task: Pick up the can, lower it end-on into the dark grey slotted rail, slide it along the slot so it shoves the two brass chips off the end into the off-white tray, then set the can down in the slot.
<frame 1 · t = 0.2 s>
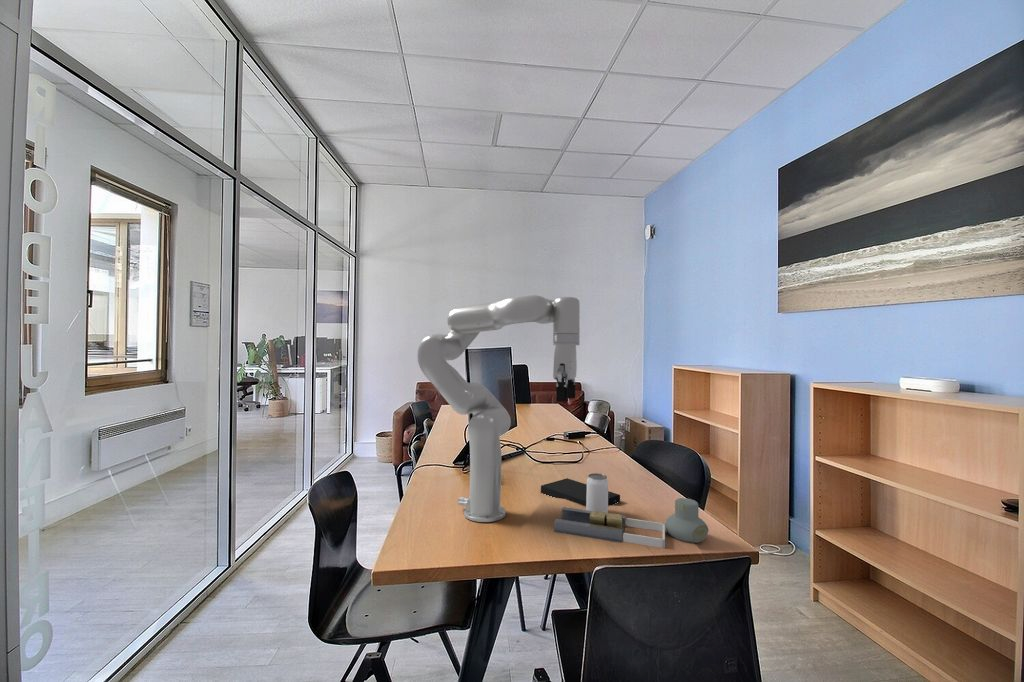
hand: (566, 399, 123), 36 cm above the table, tool pointing down, fingers open, 9 cm apart
can: (596, 516, 131), on the table
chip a: (597, 528, 119), point 1 cm above the table, touching chip b, slot rail
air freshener: (686, 539, 116), on the table
tray: (644, 539, 115), on the table
chip b: (613, 531, 117), point 1 cm above the table, touching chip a, slot rail
external hard drive: (579, 499, 147), on the table
slot rail: (590, 531, 119), on the table
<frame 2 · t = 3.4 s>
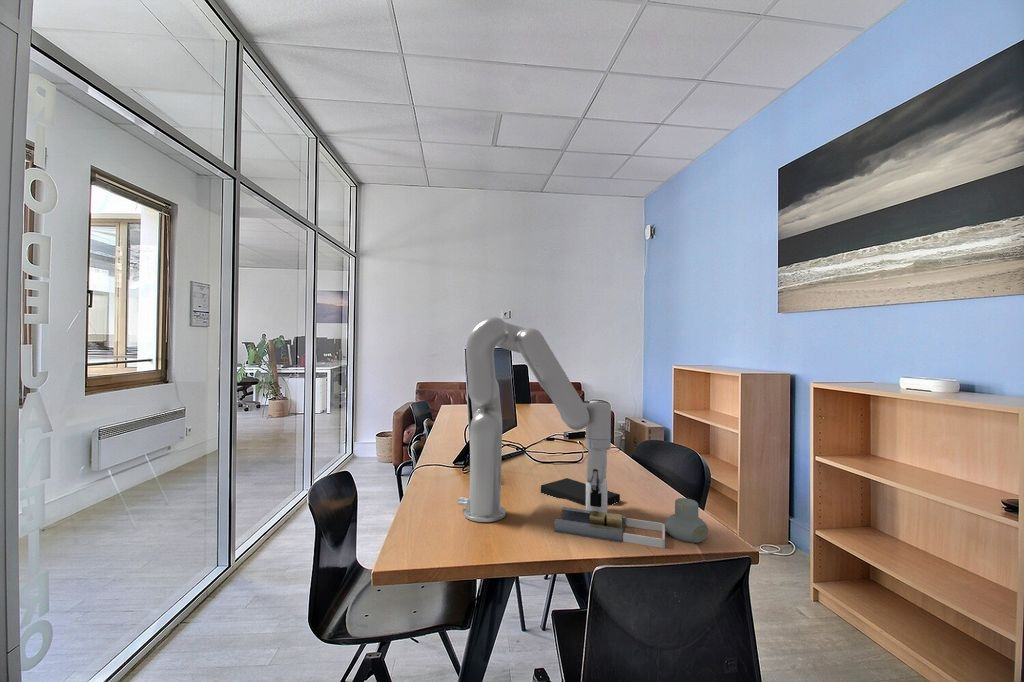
hand: (597, 501, 131), 4 cm above the table, tool pointing down, fingers closed on can, 6 cm apart
can: (596, 516, 131), on the table, touching gripper
everything else where it was.
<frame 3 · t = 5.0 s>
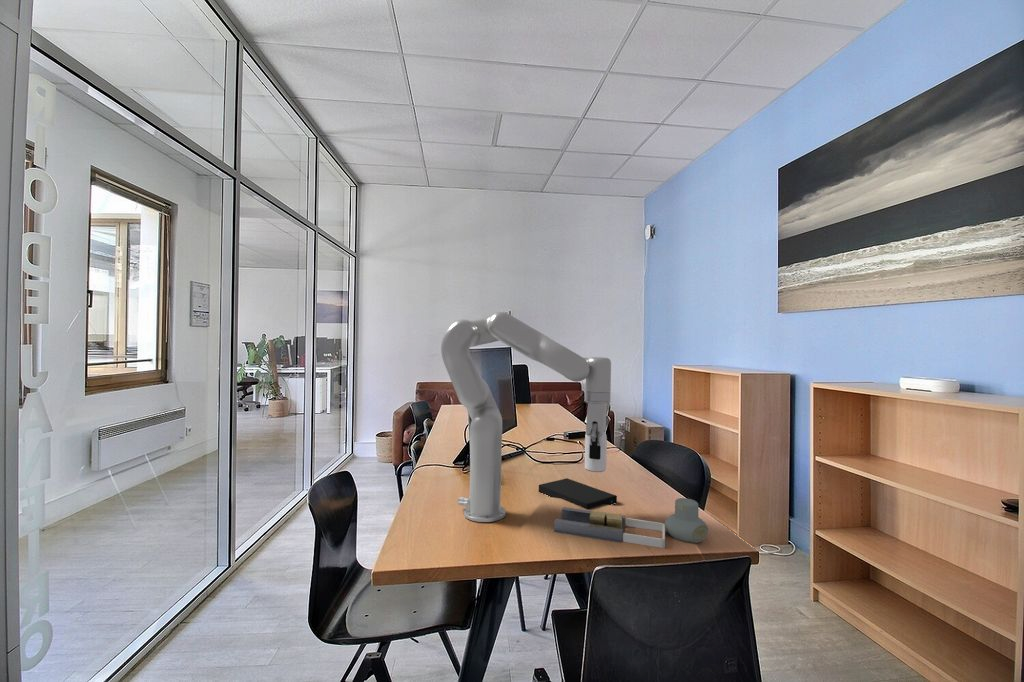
hand: (596, 455, 131), 18 cm above the table, tool pointing down, fingers closed on can, 6 cm apart
can: (595, 470, 131), point 14 cm above the table, touching gripper
external hard drive: (576, 499, 147), on the table
everything else where it was.
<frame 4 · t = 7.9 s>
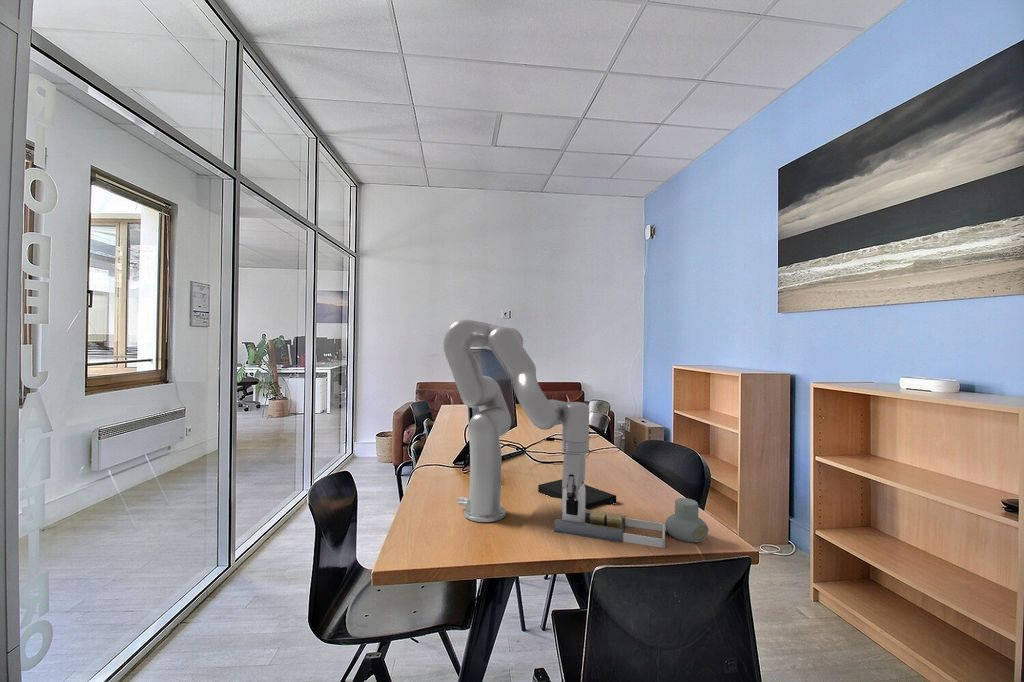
hand: (574, 509, 121), 5 cm above the table, tool pointing down, fingers closed on can, 6 cm apart
can: (573, 524, 121), point 1 cm above the table, touching gripper
everything else where it was.
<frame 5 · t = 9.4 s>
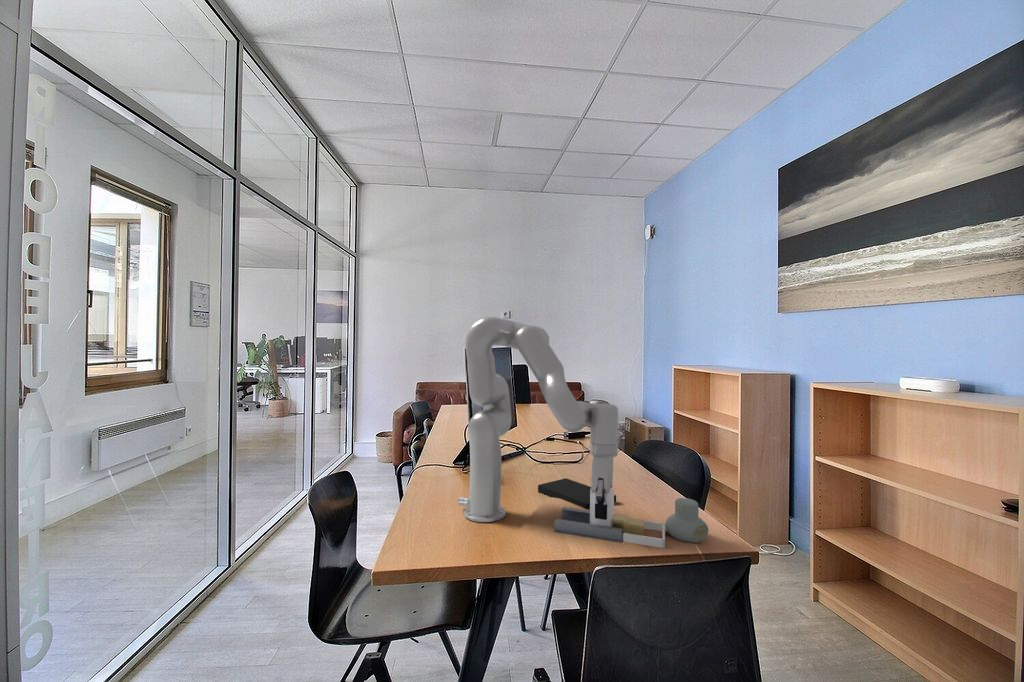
hand: (602, 513, 118), 5 cm above the table, tool pointing down, fingers closed on can, 6 cm apart
can: (601, 529, 118), point 1 cm above the table, touching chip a, gripper
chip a: (620, 532, 117), point 1 cm above the table, touching can, chip b
chip b: (636, 536, 115), resting on tray, touching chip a
everything else where it was.
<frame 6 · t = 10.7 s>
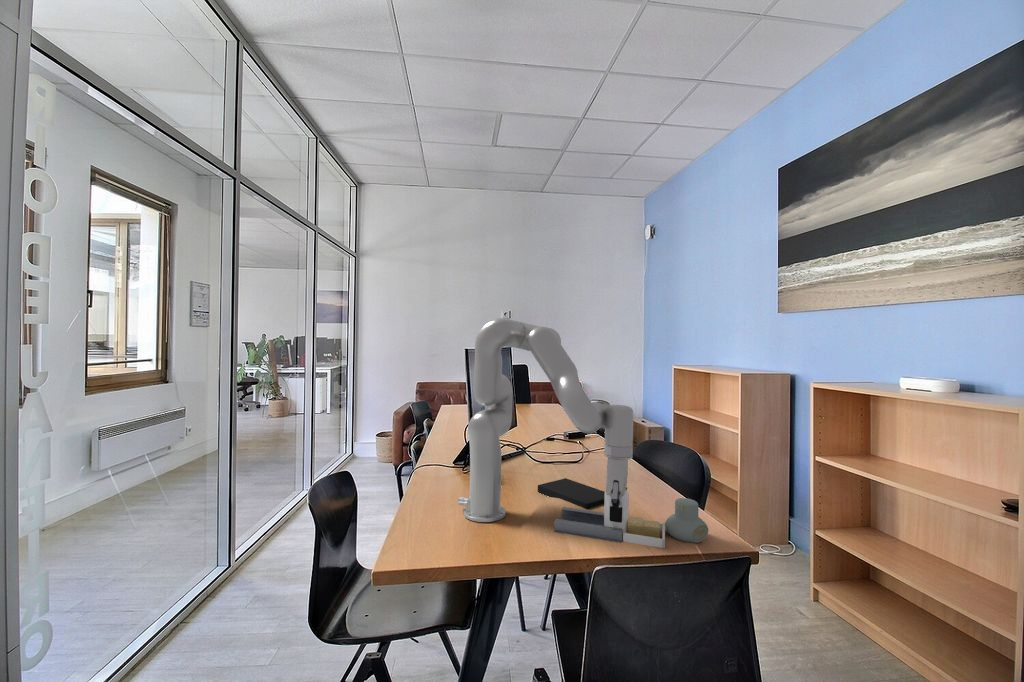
hand: (617, 516, 117), 5 cm above the table, tool pointing down, fingers closed on can, 6 cm apart
can: (615, 531, 117), point 1 cm above the table, touching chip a, gripper, slot rail
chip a: (635, 534, 115), point 1 cm above the table, touching can, chip b
chip b: (651, 538, 114), resting on tray, touching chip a
everything else where it was.
when the fingers open (5 cm above the table, at t = 12.3 s): can stays where it is, resting on slot rail.
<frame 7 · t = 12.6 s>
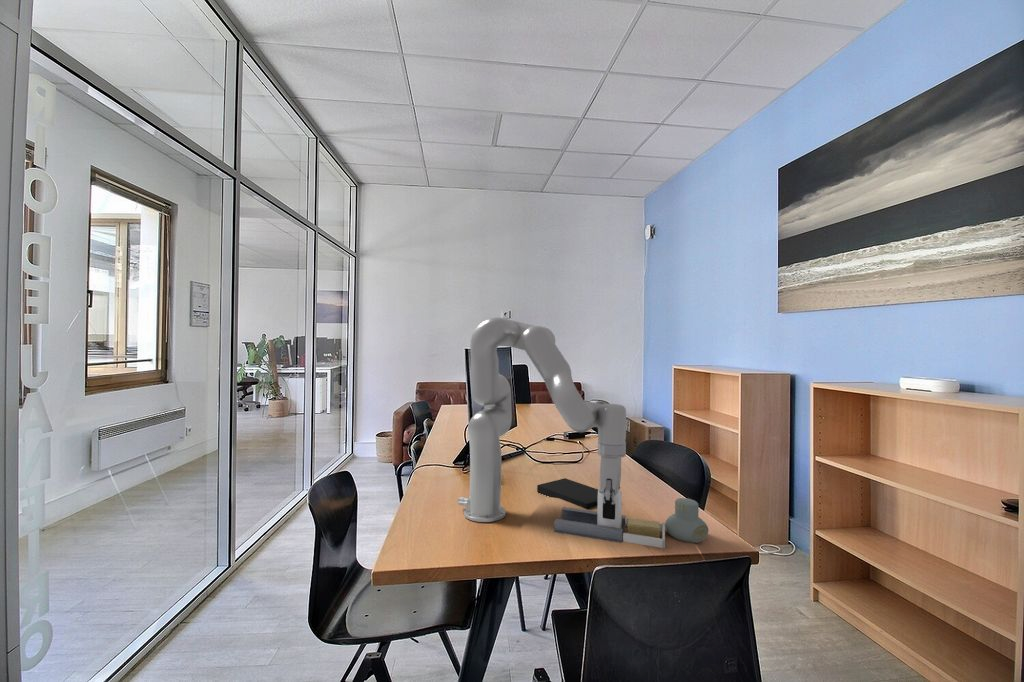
hand: (610, 512, 118), 6 cm above the table, tool pointing down, fingers open, 9 cm apart
can: (609, 531, 118), point 1 cm above the table, touching slot rail
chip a: (635, 536, 115), resting on tray
chip b: (651, 538, 114), resting on tray
everything else where it was.
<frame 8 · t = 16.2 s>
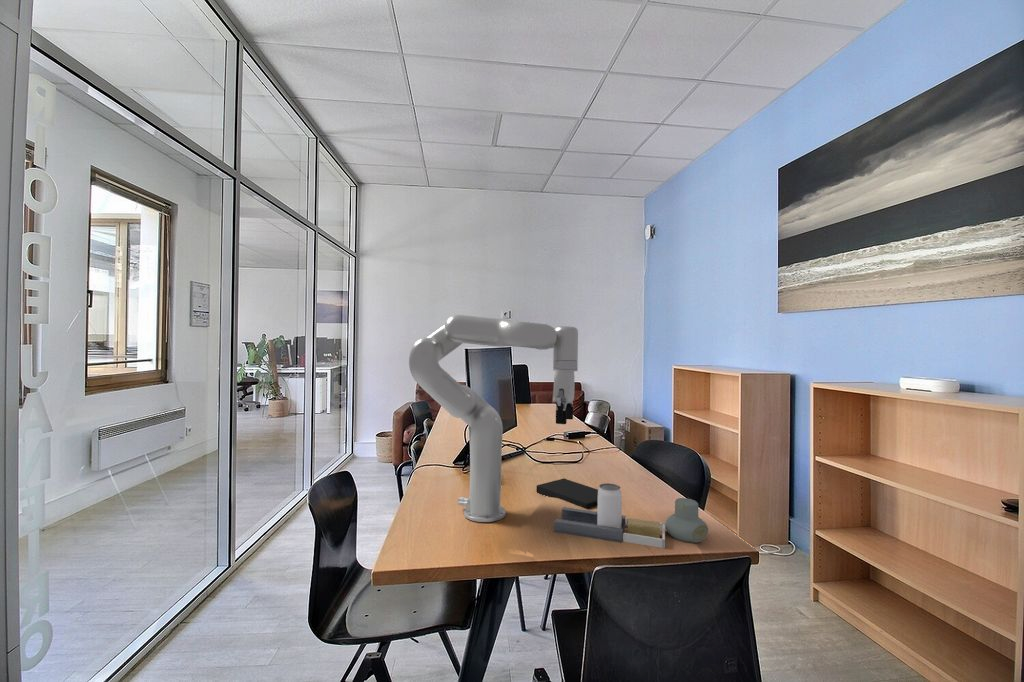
hand: (564, 421, 133), 28 cm above the table, tool pointing down, fingers open, 9 cm apart
nothing on the table moved.
at the end: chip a inside the target area (1.9 cm from its centre), resting on tray; chip b inside the target area (2.1 cm from its centre), resting on tray; the gripper is holding nothing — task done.
